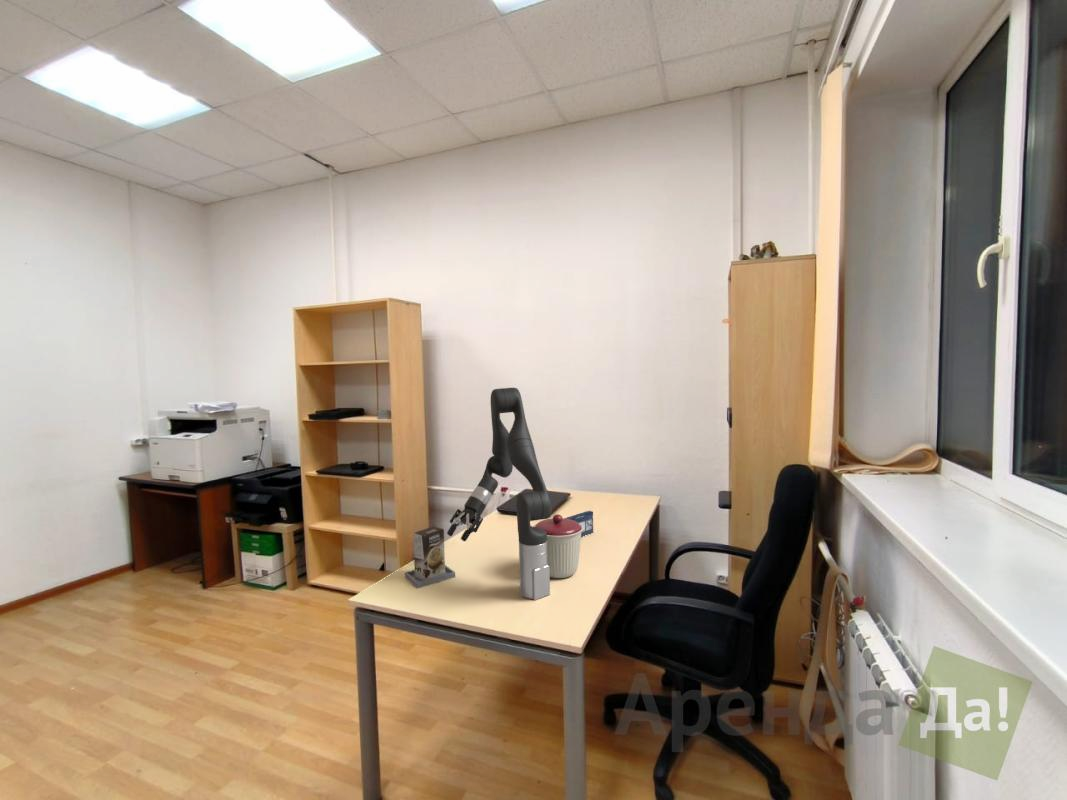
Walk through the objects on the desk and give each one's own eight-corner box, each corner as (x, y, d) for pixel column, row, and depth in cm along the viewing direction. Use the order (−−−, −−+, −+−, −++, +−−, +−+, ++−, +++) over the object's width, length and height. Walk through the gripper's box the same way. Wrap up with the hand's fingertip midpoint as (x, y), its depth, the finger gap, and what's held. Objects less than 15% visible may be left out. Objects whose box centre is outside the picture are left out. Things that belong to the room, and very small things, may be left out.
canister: (526, 567, 172) (525, 511, 171) (570, 559, 179) (569, 505, 178) (544, 587, 156) (543, 525, 154) (593, 578, 162) (591, 518, 161)
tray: (455, 577, 166) (455, 572, 166) (417, 588, 157) (416, 583, 157) (441, 567, 175) (441, 562, 175) (405, 577, 166) (404, 572, 166)
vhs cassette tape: (564, 543, 196) (563, 520, 195) (559, 542, 198) (559, 519, 198) (594, 533, 207) (594, 511, 207) (589, 532, 210) (589, 510, 209)
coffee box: (425, 581, 161) (423, 535, 160) (414, 577, 165) (412, 532, 164) (446, 572, 168) (444, 528, 167) (434, 568, 172) (432, 525, 171)
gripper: (461, 492, 184) (438, 528, 177) (484, 498, 174) (461, 536, 167) (472, 502, 188) (450, 538, 181) (495, 509, 179) (473, 547, 171)
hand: (455, 537), depth 174 cm, fingers open, 8 cm apart
